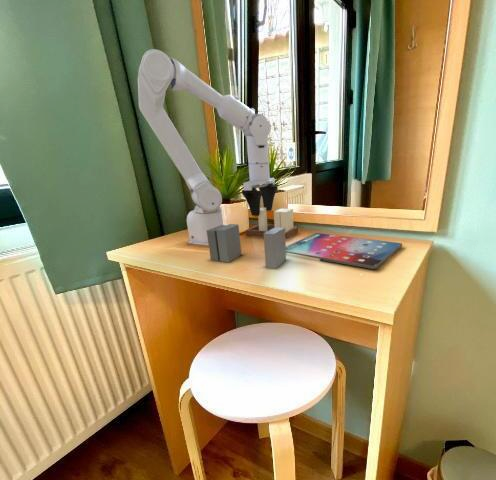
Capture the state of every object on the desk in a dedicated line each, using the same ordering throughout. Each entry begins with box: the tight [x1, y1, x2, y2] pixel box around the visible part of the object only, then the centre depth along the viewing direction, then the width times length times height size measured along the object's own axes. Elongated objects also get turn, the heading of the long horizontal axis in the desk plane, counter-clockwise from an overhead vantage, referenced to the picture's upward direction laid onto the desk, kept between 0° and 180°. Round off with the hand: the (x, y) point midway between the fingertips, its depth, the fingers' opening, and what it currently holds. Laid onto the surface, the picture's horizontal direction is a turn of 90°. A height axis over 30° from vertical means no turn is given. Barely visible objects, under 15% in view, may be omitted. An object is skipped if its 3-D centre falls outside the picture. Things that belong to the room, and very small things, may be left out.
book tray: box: [245, 223, 299, 240], centre depth 90 cm, size 13×8×2 cm, turn 66°
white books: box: [273, 208, 294, 233], centre depth 87 cm, size 4×5×7 cm
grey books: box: [207, 223, 287, 270], centre depth 69 cm, size 17×6×8 cm, turn 66°
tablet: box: [286, 232, 403, 270], centre depth 75 cm, size 19×25×1 cm
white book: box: [257, 207, 268, 231], centre depth 90 cm, size 2×5×7 cm, turn 176°
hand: (262, 212), depth 89 cm, fingers open, 7 cm apart
